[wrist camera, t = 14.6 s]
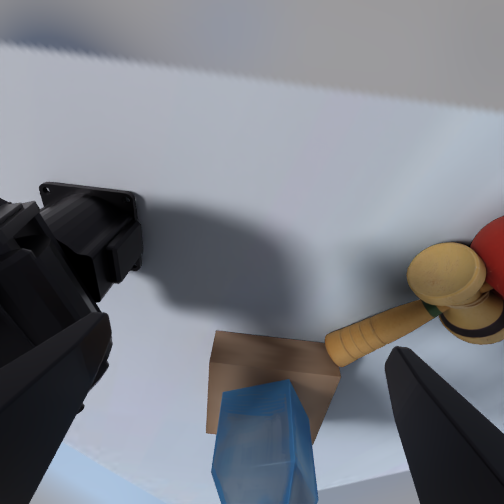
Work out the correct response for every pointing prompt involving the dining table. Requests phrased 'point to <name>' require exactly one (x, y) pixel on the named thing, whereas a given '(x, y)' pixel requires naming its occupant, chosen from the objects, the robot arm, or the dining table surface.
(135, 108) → the dining table surface
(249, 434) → the perfume bottle
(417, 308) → the kendama
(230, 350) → the walnut plinth
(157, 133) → the dining table surface
